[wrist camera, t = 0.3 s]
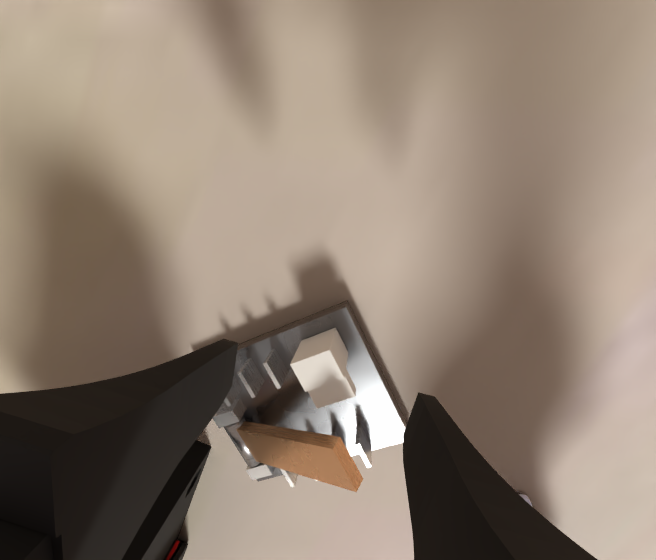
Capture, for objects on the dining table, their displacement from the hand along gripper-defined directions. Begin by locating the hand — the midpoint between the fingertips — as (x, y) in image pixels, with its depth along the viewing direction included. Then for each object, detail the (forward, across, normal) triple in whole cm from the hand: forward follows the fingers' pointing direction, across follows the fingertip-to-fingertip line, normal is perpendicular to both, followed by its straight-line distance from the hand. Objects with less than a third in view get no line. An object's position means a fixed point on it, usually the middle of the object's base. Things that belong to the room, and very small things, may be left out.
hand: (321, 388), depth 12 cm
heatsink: (+10, +2, +8) cm, 13 cm away
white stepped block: (+8, +1, +3) cm, 9 cm away
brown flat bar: (+6, +1, +9) cm, 11 cm away
